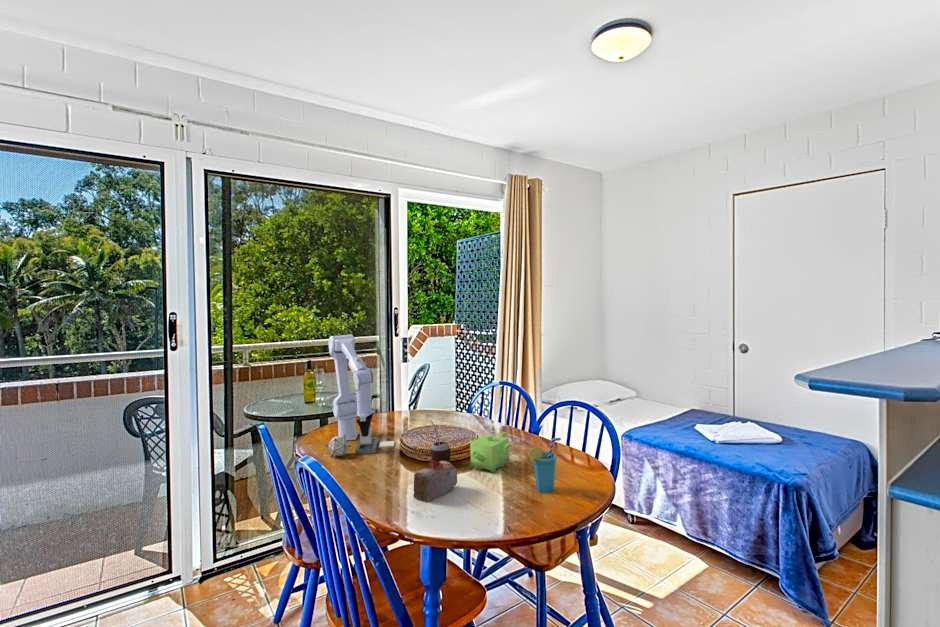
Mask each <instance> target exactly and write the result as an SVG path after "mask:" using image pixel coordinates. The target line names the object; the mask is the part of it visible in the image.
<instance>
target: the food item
mask: <svg viewBox="0 0 940 627" xmlns="http://www.w3.org/2000/svg"><path fill="white" fill-rule="evenodd" d="M457 474H458V470H457V469H456V467H455V466H454V465H453V464H452V463H451V462H447V461H440V462H437V463H436V462H433V461H429V462H428V463H426V467H425V468H423V469H420V470H417V471H416V472H414V476H413V498H414V499H416V500H418V501H422V502H425V503H428V502H430V501H431V500H433V499H435V498H437V497H444V495H446V493H447V492H449V491H450V490H451V489H454V488H455V487H456V485H457V484H458V475H457Z"/></svg>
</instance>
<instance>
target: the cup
mask: <svg viewBox="0 0 940 627" xmlns="http://www.w3.org/2000/svg"><path fill="white" fill-rule="evenodd" d="M561 440H562V438H561V437H553V438H552V439H551V441H550V445H549V451H542V449H541V447H537V446H534V447H532V448H531V449H529V451H528V453H527V456H526V457H527V459H528V462H529V463H531V464H533V471H534V480H535V489H536V491H537V492H539V493H543V494H549V493H553V491H554V490H555V481H556V480H555V479H556V478H555V476H556V464H557V463H556V462H557V459H558V456H557V454H555V453H553V447H554V443H555V442H556V441H557V442H558V441H561Z"/></svg>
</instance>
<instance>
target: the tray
mask: <svg viewBox="0 0 940 627" xmlns="http://www.w3.org/2000/svg"><path fill="white" fill-rule="evenodd" d="M395 441H396V440H390V441H389V440H385V441H379V442H378V448H379V449H381V448H394V447H395Z"/></svg>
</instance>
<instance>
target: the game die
mask: <svg viewBox="0 0 940 627" xmlns="http://www.w3.org/2000/svg"><path fill="white" fill-rule="evenodd" d="M345 436H346V435H344V436H339V435H335V434H332V438H331V440H329V442H328V444H325V445H324V446H325V447H327V448H328V450H329V453H330V454H331V455H330V458H332V457H334V456H339V457H340V456H341V457H342V458H345V456H344V455H345V453H346V452H347V450H348V449H349V448H351V447H352V446H351V445H349V443H348V440H346V438H345Z"/></svg>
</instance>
